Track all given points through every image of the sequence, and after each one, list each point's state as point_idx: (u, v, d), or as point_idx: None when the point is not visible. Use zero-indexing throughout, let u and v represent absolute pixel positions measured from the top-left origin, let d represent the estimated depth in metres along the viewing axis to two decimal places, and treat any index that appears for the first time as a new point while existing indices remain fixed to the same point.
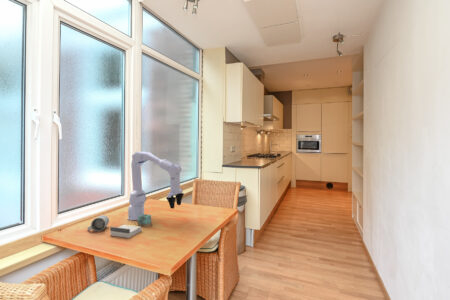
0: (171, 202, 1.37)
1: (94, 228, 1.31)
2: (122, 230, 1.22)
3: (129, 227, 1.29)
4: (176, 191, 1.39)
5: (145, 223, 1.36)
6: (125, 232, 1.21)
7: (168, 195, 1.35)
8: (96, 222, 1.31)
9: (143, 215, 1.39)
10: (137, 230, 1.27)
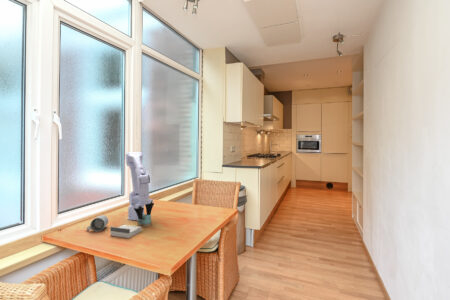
0: (139, 213, 1.34)
1: (93, 228, 1.31)
2: (122, 230, 1.22)
3: (129, 227, 1.29)
4: (144, 201, 1.36)
5: (145, 223, 1.36)
6: (125, 232, 1.21)
7: (135, 206, 1.31)
8: (95, 222, 1.31)
9: (143, 215, 1.39)
10: (137, 230, 1.27)
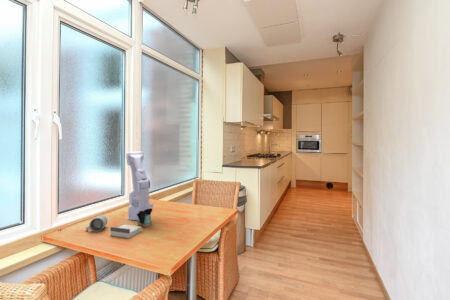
0: (141, 217, 1.36)
1: (92, 228, 1.31)
2: (122, 230, 1.22)
3: (129, 227, 1.29)
4: (144, 207, 1.36)
5: (145, 223, 1.36)
6: (125, 232, 1.21)
7: (135, 211, 1.32)
8: (94, 222, 1.31)
9: None
10: (137, 230, 1.27)
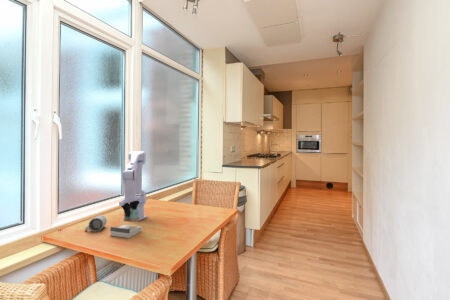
0: (126, 210, 1.27)
1: (92, 228, 1.31)
2: (122, 230, 1.22)
3: (129, 227, 1.29)
4: (130, 198, 1.27)
5: (131, 218, 1.27)
6: (125, 232, 1.21)
7: (120, 203, 1.23)
8: (94, 222, 1.31)
9: (130, 209, 1.30)
10: (137, 230, 1.27)
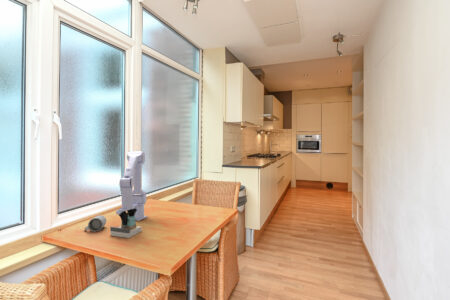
0: (123, 218, 1.26)
1: (91, 228, 1.31)
2: (122, 230, 1.22)
3: None
4: (127, 207, 1.25)
5: (129, 225, 1.26)
6: (125, 232, 1.21)
7: (117, 212, 1.21)
8: (93, 222, 1.31)
9: None
10: (137, 230, 1.27)
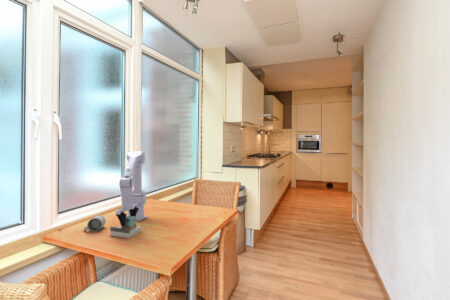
0: (121, 219, 1.24)
1: (90, 228, 1.31)
2: (122, 230, 1.22)
3: None
4: (127, 207, 1.25)
5: (129, 225, 1.26)
6: (125, 232, 1.21)
7: (117, 212, 1.21)
8: (92, 222, 1.31)
9: (127, 217, 1.28)
10: (137, 230, 1.27)
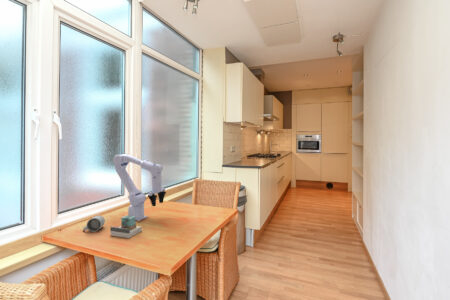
0: (152, 200, 1.44)
1: (90, 228, 1.31)
2: (122, 230, 1.22)
3: None
4: (157, 189, 1.45)
5: (129, 225, 1.26)
6: (125, 232, 1.21)
7: (149, 193, 1.41)
8: (92, 222, 1.31)
9: (127, 217, 1.28)
10: (137, 230, 1.27)
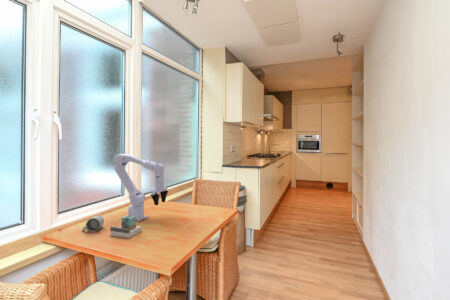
0: (155, 199, 1.46)
1: (89, 228, 1.31)
2: (122, 230, 1.22)
3: None
4: (160, 189, 1.47)
5: (129, 225, 1.26)
6: (125, 232, 1.21)
7: (152, 192, 1.43)
8: (91, 222, 1.31)
9: (127, 217, 1.28)
10: (137, 230, 1.27)
